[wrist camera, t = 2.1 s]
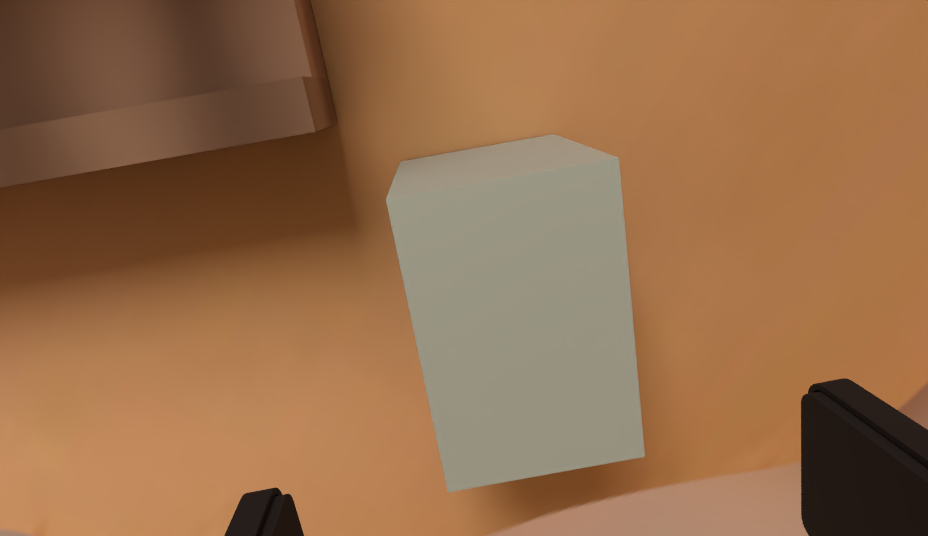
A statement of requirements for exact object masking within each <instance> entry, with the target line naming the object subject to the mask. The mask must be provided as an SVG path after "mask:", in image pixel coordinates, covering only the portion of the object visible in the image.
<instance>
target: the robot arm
mask: <svg viewBox="0 0 928 536" xmlns="http://www.w3.org/2000/svg"><path fill="white" fill-rule="evenodd" d="M801 467H802V468H801V489H802V490H801V491H802V493H801V507H802V508H801V513H802V514H801V515H802V521H803V525H804V527H805V529H806V531H807V533H808V535H809V536H928V430H927V429H925V428H924V427H922V426H921V425H919V424H918V423H916V422H915V421H913V420H911V419H910V418H908V417H907V416H905V415H904V414H902V413H901V412H899V411H898V410H896V409H895V408H893V407H891V406H890V405H888V404H887V403H885V402H884V401H882V400H881V399H879V398H878V397H876V396H874V395H873V394H871V393H870V392H868V391H867V390H865V389H864V388H862V387H861V386H859V385H857V384H856V383H854V382H853V381H851V380H849V379H838V380H833V381H827V382H822V383H817V384H813V385H812V386H810V388H809V390H808V394H805V395H804V396H803V397H802V401H801ZM225 536H304V534H303V531H302V528H301V524H300V521H299V518H298V514H297V511H296V508H295V504H294V501H293V498H292V496H291V495H290V494H285V495H282V493H281V491H280V490H279V489H278V488H271V489H266V490H261V491H256V492H251V493H246V494H244V495H243V496H242V498H241V500H240V502H239V504H238V506H237V509H236V511H235V513H234V515H233V518H232V520H231V522H230V524H229V527H228V529H227V531H226V533H225Z"/></svg>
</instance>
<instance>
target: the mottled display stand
mask: <svg viewBox="0 0 928 536" xmlns="http://www.w3.org/2000/svg"><path fill="white" fill-rule="evenodd" d="M337 123H338V122H337V117H336V113H335V109H334V104H333V100H332V95H331V91H330V87H329V82H328V78H327V73H326V69H325V65H324V60H323V56H322V52H321V47H320V43H319V38H318V34H317V30H316V25H315V21H314V16H313V12H312V8H311V3H310V0H0V188H1V187H7V186H12V185H18V184H24V183H29V182H35V181H41V180H46V179H52V178H58V177H63V176H69V175H75V174H80V173H86V172H91V171H97V170H103V169H108V168H114V167H120V166H125V165H131V164H137V163H142V162H148V161H154V160H159V159H165V158H171V157H176V156H182V155H188V154H193V153H199V152H205V151H210V150H216V149H222V148H227V147H233V146H239V145H244V144H250V143H256V142H261V141H267V140H272V139H278V138H284V137H289V136H295V135H301V134H306V133H312V132H316V131H319V130H322V129H324V128H327V127H329V126H332V125H334V124H337Z"/></svg>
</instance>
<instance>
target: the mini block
mask: <svg viewBox="0 0 928 536" xmlns="http://www.w3.org/2000/svg"><path fill="white" fill-rule="evenodd" d="M386 203H387V207H388V212H389V217H390V221H391V226H392V231H393V236H394V240H395V245H396V250H397V254H398V259H399V264H400V269H401V273H402V278H403V283H404V287H405V292H406V297H407V302H408V306H409V311H410V316H411V320H412V325H413V330H414V335H415V339H416V344H417V349H418V353H419V358H420V363H421V368H422V372H423V377H424V382H425V387H426V391H427V396H428V401H429V405H430V410H431V415H432V420H433V424H434V429H435V434H436V438H437V443H438V448H439V453H440V457H441V462H442V467H443V471H444V476H445V481H446V486H447V490H448V492H453V491H458V490H464V489H469V488H475V487H480V486H486V485H492V484H497V483H503V482H508V481H514V480H519V479H525V478H530V477H536V476H541V475H547V474H552V473H558V472H563V471H569V470H574V469H580V468H585V467H591V466H596V465H602V464H607V463H613V462H619V461H624V460H630V459H635V458H641V457H645V452H644V441H643V429H642V418H641V406H640V395H639V383H638V372H637V360H636V349H635V337H634V326H633V314H632V303H631V291H630V280H629V268H628V257H627V245H626V234H625V222H624V211H623V199H622V188H621V176H620V165H619V158H618V157H615V156H613V155H610V154H607V153H604V152H602V151H599V150H596V149H593V148H591V147H588V146H585V145H582V144H580V143H577V142H574V141H571V140H569V139H566V138H563V137H561V136H558V135H555V134H552V135H546V136H541V137H535V138H529V139H524V140H518V141H513V142H507V143H501V144H496V145H490V146H484V147H479V148H473V149H468V150H462V151H456V152H451V153H445V154H439V155H434V156H428V157H423V158H417V159H411V160H406V161H400V164H399V166H398V169H397V172H396V174H395V177H394V179H393V182H392V185H391V187H390V190H389V192H388V195H387V198H386Z"/></svg>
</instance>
